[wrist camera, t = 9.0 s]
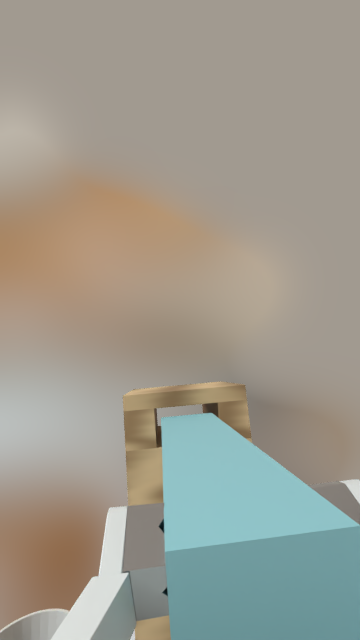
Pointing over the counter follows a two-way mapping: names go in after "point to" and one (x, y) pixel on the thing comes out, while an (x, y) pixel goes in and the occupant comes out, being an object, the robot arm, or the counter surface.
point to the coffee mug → (35, 625)
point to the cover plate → (251, 543)
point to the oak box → (147, 448)
